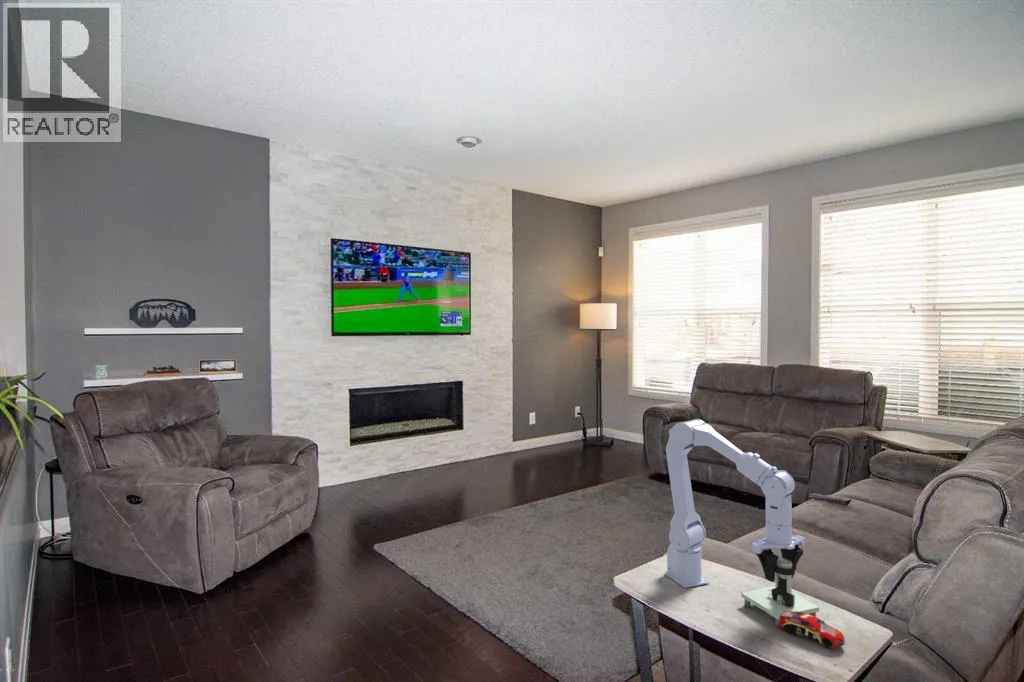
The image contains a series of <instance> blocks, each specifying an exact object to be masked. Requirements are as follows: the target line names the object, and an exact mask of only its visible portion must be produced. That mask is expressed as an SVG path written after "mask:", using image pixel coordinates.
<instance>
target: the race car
mask: <svg viewBox="0 0 1024 682" xmlns="http://www.w3.org/2000/svg"><path fill="white" fill-rule="evenodd" d="M779 625H780V626H781V627H782V629H783V630H786V631H787V632H788V634H796V635H799V636H801V637H804V638H806V639H808V640H812V641H815V642H817V643H820V644H823V646H824V647H825V648H828V649H830V648H840V647H842V646H844V645H845V642H846V640H845V636H844V634H843V633H842V631H840V630H839V629H837V628H835V627H834V626H831V625H829V624H827V623H826V622H825V620H822V619H820V618H818V617H817V616H816V617H815V616H813V615H810V614H807V613H803V612H798V611H785V612H783V613H782V614H781V616H780V620H779Z"/></svg>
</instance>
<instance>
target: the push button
mask: <svg viewBox="0 0 1024 682" xmlns="http://www.w3.org/2000/svg"><path fill="white" fill-rule="evenodd" d="M796 570H797V565H796V566H795V565H794V564H792V562H791V561H790V560H788V559H785V558H782V557H778V560H777V563H776V567H775V585H774V586H775V587H776V588H774V589H772V590H771V591H770V589H769V590H768V591H770V592H772V594H771V593H768V594H769V595H771V596H772V597H773V600H775V601H777V602H778V603H780V604H781V603H782V604H784V605H785V606H786V607H791V606H794V605H795V595H794V594H795V593H794V594H792V592H793V591H792V578H791V576H792V575H793V576H795V574H796Z"/></svg>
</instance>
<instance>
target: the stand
mask: <svg viewBox="0 0 1024 682" xmlns="http://www.w3.org/2000/svg"><path fill="white" fill-rule="evenodd" d="M774 588H776V587H775V585H774V586H769V587H763V588H758V589H754V590H749V591H742V592H741V595H740V596H741V598H742V599H744V607H746V608H751V606H752V605H754V606H756V607H757V608H758V609H760V610H762V611H764V612H765V613H767V614H768V615H770V616H771V617H773V618H775V627H777V628H779V629H780V628H782V627H781V626H780V625H779V620H780V616H781V614H782V613H783V612H785V611H798V612H803V613H807V614H810V615H813V616H815V617H817V615H816V614H817V612H820V606H818V605H816V604H814V603H812V602H811V601H809V600H807V599H806V598H803V597H802V596H800V595H798V594H797V593H794V592H793V591H792V594H794V595H795V605H794V606H791V607H786V606H785V605H784V604H782V603H781V604H780V603H778V602H777V601H775V600H773V597H772V596H771V595H769V594H768V593H771V594H772V592H770V591H771V590H772V589H774ZM769 589H770V591H768V590H769ZM751 604H752V605H751ZM782 629H783V628H782Z"/></svg>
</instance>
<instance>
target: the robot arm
mask: <svg viewBox="0 0 1024 682" xmlns="http://www.w3.org/2000/svg"><path fill="white" fill-rule="evenodd" d="M668 435H669V437H668V441H667V443H666V445H665V446H666V447H665V454H666V460H667V461H666V462H667V468H668V469H667V470H668V476H669V482H670V484H669V485H670V489H671V496H672V497H671V498H672V503H673V511H674V514H673V516H672V518H671V519H670V522H669V524H670V525H669V526H670V531H669V532H668V533H669V534H668V539H669V542H670V544H669V545H668V547H667V550H666V571H664V575H666V576H667V577H668V578H670V579H671V580H673V581H674V582H676V583H677V584H679V586H681V587H683V588H685V589H686V588H692V587H698V586H701V585H703V586H704V585H707V584H709V583H710V581H709V580H707V579H705V578H704V577H703V575H702V573H703V571H702V564H703V563H702V542H704V541H705V539H706V537H707V533H706V531H707V530H706V528H705V526H704V525H703V522H702V519H701V516H700V514H698V513H697V512H696V509H695V502H694V495H693V489H692V482H691V474H690V468H689V462H688V460H689V459H688V453H690V451H691V450H693V448H694V447H695V446H696V447H697V446H698V447H701V446H702V447H709V448H711V449H713V450H714V451H716V452H718V453H719V454H721V455H722V456H724V458H727V459H728V460H730V461H732V462H733V463H735V465H736V470H737V471H738V472H739V473H741V474H742V475H743V476H745V477H746V478H748V479H749V480H751V481H752V482H753V483H755V484H756V485H757V486H759V487H760V489H761V491H762V493H763V495H764V496H765V537H764V538H762V539H760V540H758V541H756V542H752V543H751V551H752V552H753V553H755V554H756V556H757V557H758V560H759V562H760V564H761V567H762V570H763V574H764V578H765V580H768V581H769V582H771V583H774V582H775V581H776V572H775V567H776V563H777V560H778V558H779V556H778V555H777V554H774V551H775V550H780V552H781V553H780V554H781V558H785V559H788V560H790V561H791V562H792V564H794V565H795V566H796V567H797V565H798V564H799V560H800V559H801V557H802V556H803V555H804V549H803V548H801V547H805V546H806V538H805V537H804V536H801V535H798V534H797V535H793V526H792V525H793V520H792V519H793V517H792V516H793V514H792V513H793V511H792V509H793V508H792V507H793V506H792V505H793V504H792V494H791V493H793V491H794V490H795V489H796V483H795V479H794V478H793V476H792V475H791V474H790V473H789V472H788V471H787V470H783V469H782V470H780V469H779V470H778V467H776V466H775V465H774V466H772V465H771V464H769V463H767V462H766V461H765V460H763V459H762V458H760V457H761V455H760V454H758V453H757V452H755V453H753V452H750V451H749V452H743V451H742V449H739V448H738V447H737V446H735V444H733V443H731V441H730V440H728V439H726V438H725V437H724V436H722V435H721V433H719V432H717V431H716V430H715V429H714V427H712V425H711V424H708V423H706V422H705V421H703V420H702V419H701V418H695V419H691V420H687V421H684V422H677V423H675V424H674V425H673V426H672V427H671V428H670V429H669V431H668ZM800 546H801V547H800ZM793 578H794V575H792V576H791V579H793Z"/></svg>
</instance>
